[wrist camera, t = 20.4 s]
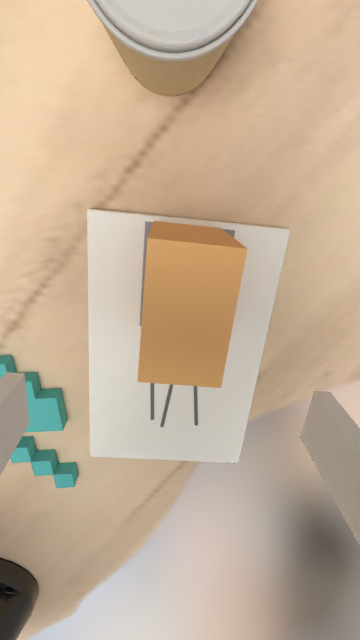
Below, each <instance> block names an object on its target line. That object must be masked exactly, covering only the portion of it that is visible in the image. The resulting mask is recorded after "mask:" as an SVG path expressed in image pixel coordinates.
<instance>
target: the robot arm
mask: <svg viewBox="0 0 360 640" xmlns="http://www.w3.org/2000/svg"><path fill="white" fill-rule="evenodd" d="M28 426H29V414H28V404H27V393H26V382H25V373H11V372H6V373H5V374H4V376H3V377H2V378H1V379H0V475H1V473H2V471H3V469H4V468H5V466H6V464H7V462H8V461H9V459H10V457H11V455H12V454H13V452H14V450H15V448H16V447H17V445H18V443H19V441H20V440H21V438H22V436H23V434H24V433H25V431H26V429H27V427H28ZM300 437H301V439H302V442H303V443H304V445H305V447H306V449H307V451H308V452H309V454H310V456H311V458H312V460H313V461H314V463H315V465H316V467H317V469H318V471H319V473H320V474H321V476H322V478H323V480H324V482H325V484H326V485H327V487H328V489H329V491H330V493H331V494H332V496H333V498H334V500H335V502H336V504H337V505H338V507H339V509H340V511H341V513H342V515H343V516H344V518H345V520H346V522H347V524H348V526H349V527H350V529H351V531H352V533H353V535H354V537H355V538H356V540H357V542H358V544H359V546H360V428H359V427H358V426H357V424H356V423H355V422H354V421H353V420H352V419H351V417H350V416H349V415H348V414H347V412H346V411H345V410H344V409H343V407H342V406H341V405H340V404H339V403H338V401H337V400H336V399H335V397H334V396H333V395H332V394H331V393H330V392H322V391H314V394H313V397H312V401H311V404H310V407H309V410H308V414H307V417H306V420H305V423H304V427H303V430H302V433H301V436H300ZM37 596H38V586H37V583H36V581H35V580H34V578H33V577H32V576H31V575H30V574H29V573H28V572H27V571H25V570H24V569H22V568H21V567H19V566H17V565H15V564H13V563H10V562H7V561H4V560H1V559H0V640H16V639H17V637H18V636H19V634H20V632H21V631H22V629H23V627H24V626H25V624H26V622H27V621H28V619H29V617H30V616H31V613H32V611H33V608H34V605H35V602H36V599H37Z"/></svg>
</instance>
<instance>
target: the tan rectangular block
mask: <svg viewBox="0 0 360 640" xmlns="http://www.w3.org/2000/svg"><path fill="white" fill-rule="evenodd" d="M246 253H247V248H246V247H245V246H243V245H242V244H241V243H239V242H238V241H237V240H236V239H234V238H233V237H232V236H231V235H229V234H228V233H227V232H225V231H224V230H223V229H222V228H215V227H206V226H197V225H188V224H179V223H170V222H160V221H153V224H152V227H151V230H150V233H149V235H148V238H147V252H146V266H145V281H144V295H143V309H142V323H141V338H140V352H139V366H138V380H137V382H143V383H157V384H171V385H186V386H200V387H214V388H221V385H222V380H223V375H224V370H225V364H226V359H227V354H228V349H229V343H230V338H231V333H232V327H233V322H234V317H235V312H236V306H237V301H238V296H239V290H240V285H241V280H242V275H243V269H244V264H245V259H246Z"/></svg>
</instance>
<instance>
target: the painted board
mask: <svg viewBox="0 0 360 640" xmlns="http://www.w3.org/2000/svg"><path fill="white" fill-rule="evenodd" d="M153 221H160V222H170V223H179V224H188V225H197V226H206V227H215V228H222V229H223V230H224V231H225V232H227V233H228V234H229V235H231V236H232V237H233V238H234V239H236V240H237V241H238V242H239V243H241V244H242V245H243V246H245V247H246V248H247V253H246V259H245V264H244V269H243V275H242V280H241V285H240V290H239V296H238V301H237V306H236V312H235V317H234V322H233V327H232V333H231V338H230V343H229V349H228V354H227V359H226V364H225V370H224V375H223V380H222V385H221V388H214V387H200V386H186V385H171V384H157V383H143V382H137V380H138V366H139V352H140V338H141V323H142V309H143V295H144V281H145V266H146V252H147V238H148V235H149V233H150V230H151V227H152V224H153ZM87 235H88V326H89V417H90V457H110V458H133V459H155V460H178V461H200V462H224V463H238V462H239V458H240V453H241V449H242V444H243V440H244V435H245V431H246V426H247V422H248V417H249V413H250V409H251V404H252V400H253V395H254V391H255V386H256V382H257V377H258V373H259V368H260V364H261V360H262V355H263V351H264V346H265V342H266V337H267V333H268V328H269V324H270V319H271V315H272V310H273V306H274V302H275V297H276V293H277V288H278V284H279V279H280V275H281V270H282V266H283V261H284V257H285V252H286V248H287V244H288V239H289V235H290V230H289V229H286V228H281V227H271V226H261V225H251V224H241V223H231V222H221V221H211V220H201V219H191V218H181V217H171V216H161V215H151V214H141V213H131V212H121V211H111V210H101V209H88V210H87Z"/></svg>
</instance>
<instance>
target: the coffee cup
mask: <svg viewBox="0 0 360 640" xmlns="http://www.w3.org/2000/svg"><path fill="white" fill-rule="evenodd" d="M87 1H88V2H89V4H90V6H91V7H92V9H93V11H94V12H95V14H96V15H97V16H98V18H99V19H100V21H101V22H102V23H103V25H104V27H105V29H106V30H107V32H108V34H109V36H110V38H111V39H112V41H113V43H114V45H115V47H116V48H117V50H118V52H119V54H120V55H121V57H122V59H123V61H124V62H125V64H126V66H127V67H128V69H129V70H130V72H131V73H132V75H133V76H134V77H135V78H136V80H137V81H138V82H139V83H140V84H142V85H143V86H144V87H145V88H147V89H148V90H150V91H152V92H154V93H157V94H160V95H165V96H177V95H182V94H185V93H187V92H189V91H191V90H193V89H195V88H196V87H198V86H199V85H200V84H201V83H202V82H203V81H204V80H205V79H206V77H207V76H208V75H209V74H210V72H211V71H212V69H213V68H214V66H215V65H216V63H217V62H218V60H219V59H220V57H221V56H222V54H223V53H224V51H225V49H226V48H227V46H228V45H229V43H230V42H231V40H232V38H233V37H234V35H235V34H236V32H237V31H238V30H239V29H240V28H241V26H242V25H243V24H244V22H245V21H246V20H247V18H248V17H249V16H250V14H251V12H252V11H253V9H254V7H255V6H256V4H257V2H258V0H87Z"/></svg>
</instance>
